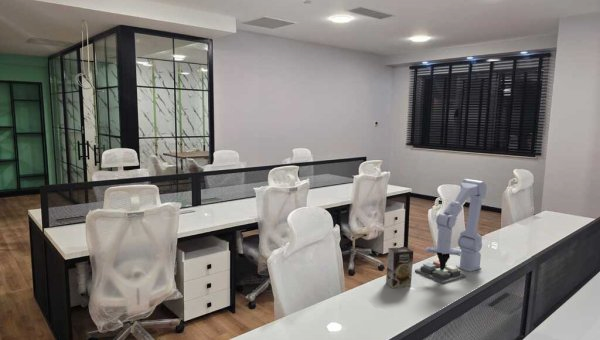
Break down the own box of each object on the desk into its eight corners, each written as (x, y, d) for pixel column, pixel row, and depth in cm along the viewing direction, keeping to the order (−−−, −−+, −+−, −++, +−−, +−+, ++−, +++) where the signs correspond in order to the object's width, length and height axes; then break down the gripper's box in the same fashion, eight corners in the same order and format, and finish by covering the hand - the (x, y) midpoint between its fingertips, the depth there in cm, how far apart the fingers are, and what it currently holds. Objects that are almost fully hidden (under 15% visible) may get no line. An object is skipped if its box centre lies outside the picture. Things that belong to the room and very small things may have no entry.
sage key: (440, 271, 189) (441, 267, 188) (447, 274, 185) (448, 270, 185) (435, 273, 187) (435, 269, 186) (442, 276, 183) (442, 272, 183)
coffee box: (392, 288, 174) (394, 252, 172) (385, 282, 180) (387, 247, 178) (411, 287, 176) (414, 251, 174) (403, 280, 183) (406, 246, 180)
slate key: (428, 266, 195) (429, 262, 194) (435, 269, 191) (435, 265, 191) (423, 268, 192) (423, 264, 192) (429, 271, 189) (430, 266, 189)
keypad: (437, 265, 202) (438, 260, 202) (465, 277, 189) (466, 271, 188) (415, 271, 194) (415, 266, 193) (442, 284, 180) (443, 278, 180)
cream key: (450, 268, 192) (451, 264, 192) (457, 271, 189) (458, 267, 189) (445, 270, 190) (445, 266, 190) (452, 273, 187) (452, 269, 187)
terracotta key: (438, 264, 198) (438, 260, 198) (445, 266, 195) (445, 262, 195) (433, 265, 196) (433, 261, 196) (439, 268, 193) (440, 264, 192)
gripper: (428, 241, 181) (425, 270, 183) (462, 244, 178) (460, 274, 180) (427, 236, 188) (424, 264, 190) (460, 239, 185) (457, 268, 187)
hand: (441, 268), depth 186 cm, fingers closed
